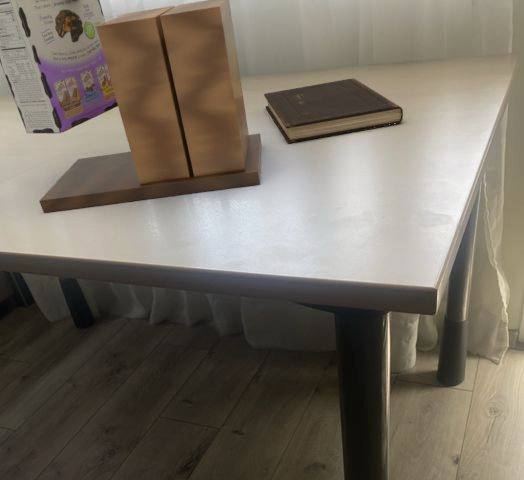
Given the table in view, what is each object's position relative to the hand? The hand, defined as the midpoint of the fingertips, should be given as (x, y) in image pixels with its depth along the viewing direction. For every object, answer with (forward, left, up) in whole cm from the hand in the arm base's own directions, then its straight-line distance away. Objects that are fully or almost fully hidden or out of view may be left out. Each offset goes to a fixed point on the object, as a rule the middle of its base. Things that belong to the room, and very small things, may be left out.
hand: (43, 4), depth 61 cm
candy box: (0, 0, -13) cm, 13 cm away
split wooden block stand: (+10, -4, -20) cm, 22 cm away
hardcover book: (+33, +15, -20) cm, 41 cm away
